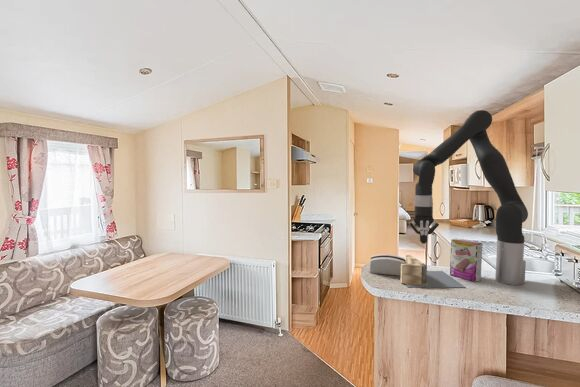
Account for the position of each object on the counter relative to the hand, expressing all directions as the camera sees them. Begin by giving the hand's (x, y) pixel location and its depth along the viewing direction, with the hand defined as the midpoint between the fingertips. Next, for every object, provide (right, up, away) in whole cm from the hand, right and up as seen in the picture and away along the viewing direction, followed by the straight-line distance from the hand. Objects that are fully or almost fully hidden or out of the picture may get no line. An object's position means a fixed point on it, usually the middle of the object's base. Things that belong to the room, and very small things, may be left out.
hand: (423, 243), depth 139 cm
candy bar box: (+16, -15, -5) cm, 22 cm away
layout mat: (-1, -15, -6) cm, 16 cm away
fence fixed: (-9, -15, -12) cm, 21 cm away
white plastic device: (-16, -14, 0) cm, 21 cm away
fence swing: (-6, -14, -4) cm, 16 cm away
